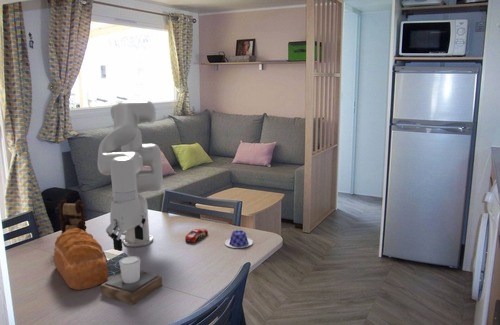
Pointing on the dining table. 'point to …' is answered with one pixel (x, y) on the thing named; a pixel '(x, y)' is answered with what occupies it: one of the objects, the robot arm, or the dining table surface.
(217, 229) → the dining table surface
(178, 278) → the dining table surface
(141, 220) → the robot arm
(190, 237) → the race car
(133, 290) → the tray
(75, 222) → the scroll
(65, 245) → the bread
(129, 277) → the shot glass
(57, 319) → the dining table surface
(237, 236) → the pudding
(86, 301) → the dining table surface
